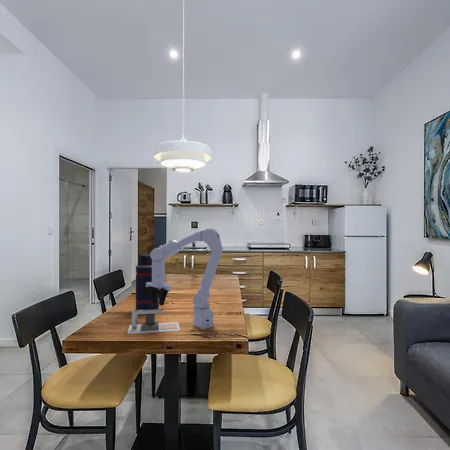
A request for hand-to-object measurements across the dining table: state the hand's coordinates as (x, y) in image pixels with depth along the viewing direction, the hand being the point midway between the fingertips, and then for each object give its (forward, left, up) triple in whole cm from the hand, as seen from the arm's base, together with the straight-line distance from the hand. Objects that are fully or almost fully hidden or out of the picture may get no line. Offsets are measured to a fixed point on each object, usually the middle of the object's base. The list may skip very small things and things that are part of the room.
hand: (158, 304), depth 144 cm
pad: (-7, -2, -9) cm, 11 cm away
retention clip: (-4, +6, -8) cm, 11 cm away
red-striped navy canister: (+26, -4, -10) cm, 28 cm away
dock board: (-5, +4, -9) cm, 11 cm away
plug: (-4, +5, -9) cm, 11 cm away
